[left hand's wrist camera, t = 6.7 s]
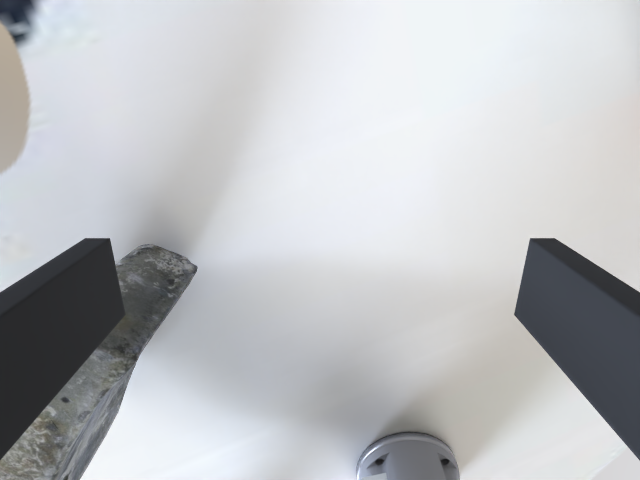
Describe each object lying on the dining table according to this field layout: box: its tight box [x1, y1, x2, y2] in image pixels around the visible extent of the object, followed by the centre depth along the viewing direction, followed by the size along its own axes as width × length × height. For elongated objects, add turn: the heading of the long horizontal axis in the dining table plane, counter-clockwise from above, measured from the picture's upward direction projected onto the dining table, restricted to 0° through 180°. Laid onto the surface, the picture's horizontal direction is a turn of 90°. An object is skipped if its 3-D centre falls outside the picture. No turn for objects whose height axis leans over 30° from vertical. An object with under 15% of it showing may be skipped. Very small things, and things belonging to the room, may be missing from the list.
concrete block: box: [0, 244, 197, 480], centre depth 41 cm, size 27×9×20 cm, turn 147°
